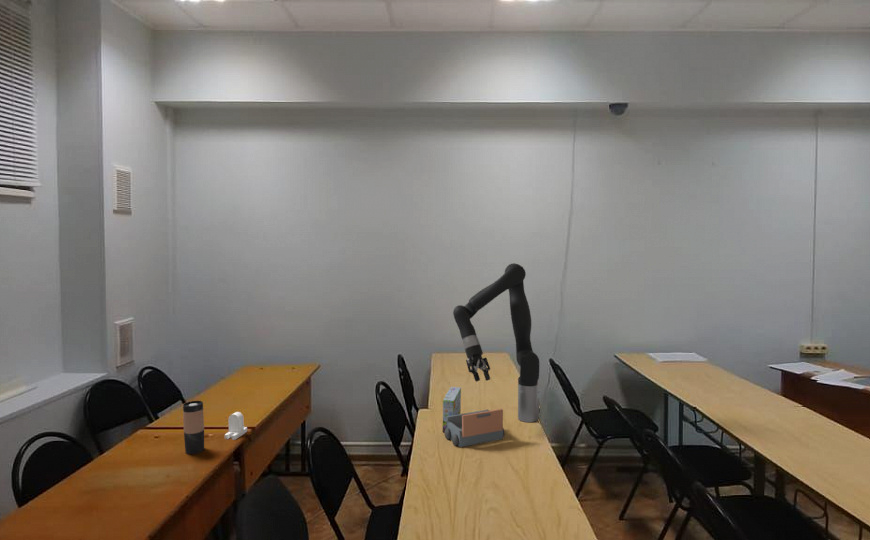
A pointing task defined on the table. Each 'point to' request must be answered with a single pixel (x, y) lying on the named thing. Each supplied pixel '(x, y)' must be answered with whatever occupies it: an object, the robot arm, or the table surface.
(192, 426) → the travel mug
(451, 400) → the snack box
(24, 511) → the table surface
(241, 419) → the cable organizer
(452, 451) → the table surface
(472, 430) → the tailgate
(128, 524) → the table surface
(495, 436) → the trailer
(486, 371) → the robot arm
